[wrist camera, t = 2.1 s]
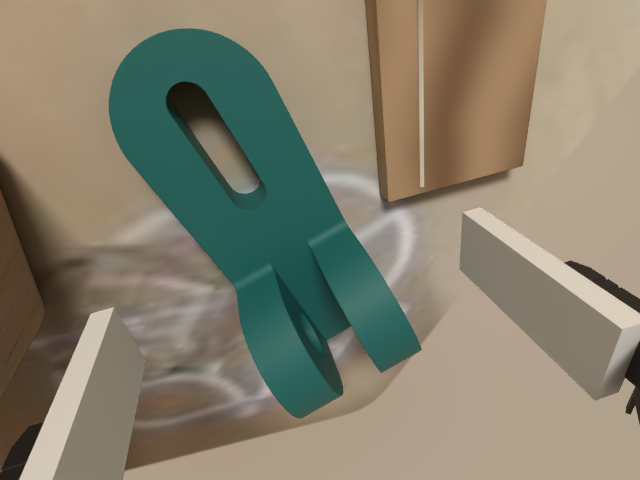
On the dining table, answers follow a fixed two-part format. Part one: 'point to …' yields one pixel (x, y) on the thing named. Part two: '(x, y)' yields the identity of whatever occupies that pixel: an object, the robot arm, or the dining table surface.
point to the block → (15, 300)
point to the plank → (450, 88)
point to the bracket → (258, 215)
